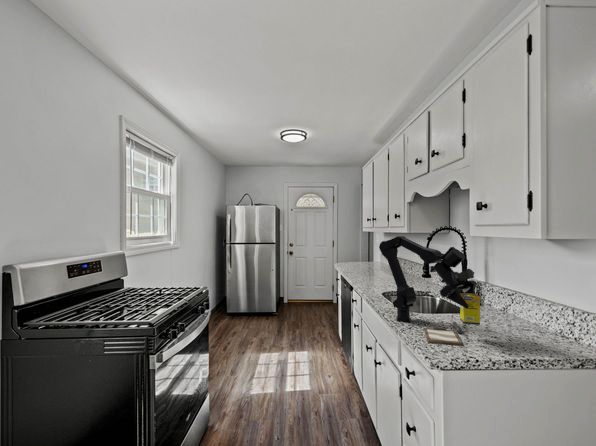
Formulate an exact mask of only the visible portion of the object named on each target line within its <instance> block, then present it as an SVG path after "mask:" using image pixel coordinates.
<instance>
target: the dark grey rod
mask: <svg viewBox="0 0 596 446" xmlns="http://www.w3.org/2000/svg"><path fill="white" fill-rule="evenodd" d="M452 326H453V328H454V329H455V332H456V333H457V335H463V334H464V332H463V330H462V328H461V327H460V325H458V323H457V321H453V322H452Z"/></svg>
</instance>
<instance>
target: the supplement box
mask: <svg viewBox="0 0 596 446" xmlns="http://www.w3.org/2000/svg"><path fill="white" fill-rule="evenodd" d="M460 294H461V296H462V297H463V299H464V300H465V302H466V303H467V305H468V308H464V307H463V306H461V305H459V306H460V307H459V309H460V310H459V311H460V312H459V313H460V314H459V317H460V318H459V319H460V321H461V322H462V323H463V324H466V325H476V326H479V325H481V296H479V294H477V293H476V294H469V293H462V292H460Z"/></svg>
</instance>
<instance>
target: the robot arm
mask: <svg viewBox="0 0 596 446" xmlns="http://www.w3.org/2000/svg"><path fill="white" fill-rule="evenodd" d="M401 247H403V249H407V250H408V251H410V252H411V253H414V254H416V255H417V256H418V257H419V258H420V260H422V261H423V262H424V263H426V264H428V265H431V264H434V265H431V266H430V270H429V272H430V273H437V275H438V276H439V278H441V280H440V282H441V283H442V284H443V283H444V284H445V285H444V286H443V287H442V288H441V289H440V290H439V295H440V296H441V297H442V299H443V298H446V299H448V300H450V301H452V302H454V303H456V304H458V305H459V306H460V305H461V306H463V307H464V308H468V305H467V303H466V302H465V300H464V299H463V297H462V296H461V294H460V293H469V294H477V293H476V288H477V286H478V282H476V280H474V278H475V276H474V275H475V272H474V271H473V270H472V269H471V268H467V269H463V271H461V272H459V271H454V270H453V268H456V267H457V266H459V265H460V264H461V262H463V261H464V260H465V259H466V255H465V254H464V252H462V251H460V250H459V249H457V248H455V246H450V247H449V248H448V250H447V251H446V252H445V253H442V251H440V250H438V249H435V248H431V247H425V246H423V245H421V244H420V243H417V242H416V241H414V240H411V239H409V238H407V237H406V236H404V235H401V236H400V235H397V236H395V237H393V238H391V239H388V240H382V241H381V242H380V243H379V251H380V253H381V255H382V256H383V257H384V258H385V259H386V260H387V263H388V266H389V269H390V271H391V275H392V277H393V279H394V283H395V285H396V294H395V295H396V299H394V301H393V302H392V305H393V307H394V308H396V309H397V310H396V316H395V317H396V321H397V322H406V323H407V322H409V323H410V322H412V319H411V317H410V316H411V310H410V309H411V308H412V307H414V304H415V303H416V301H417V293H416V291H415V287H414V286H410V285H408V283H407V279H406V277H405V275H404V271H403V270H402V269H403V268H402V267H401V264H400V261H399V259H398V253H399V252H398V251H399V248H401ZM469 279H470V280H469ZM472 279H473V280H472ZM410 307H411V308H410Z"/></svg>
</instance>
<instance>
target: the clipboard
mask: <svg viewBox="0 0 596 446" xmlns="http://www.w3.org/2000/svg"><path fill="white" fill-rule="evenodd" d="M423 331H424V335H425V337H426V340H427V343H428V344H438V345H439V344H440V345H450V346H463V341H462V340H461V339H460V337H459V334H458V333H457V331H456V330H453V329H452V330H451V329H447V328H446V327H436V326H435V327H434V326H433V327H432V328H428V327H427V328H426V327H425V328H424V327H423Z"/></svg>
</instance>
